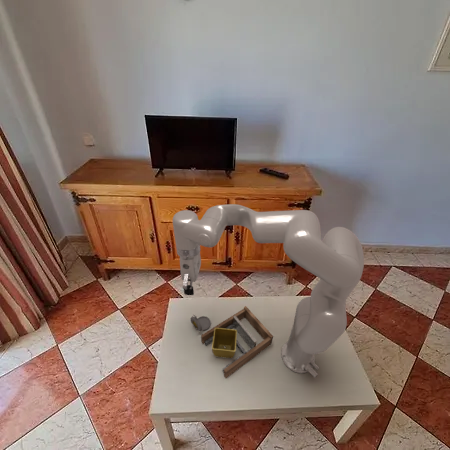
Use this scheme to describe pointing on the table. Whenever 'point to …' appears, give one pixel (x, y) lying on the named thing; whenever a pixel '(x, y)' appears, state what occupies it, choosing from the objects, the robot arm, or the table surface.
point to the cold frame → (254, 351)
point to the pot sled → (242, 332)
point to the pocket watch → (200, 323)
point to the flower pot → (224, 342)
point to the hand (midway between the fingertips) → (192, 283)
